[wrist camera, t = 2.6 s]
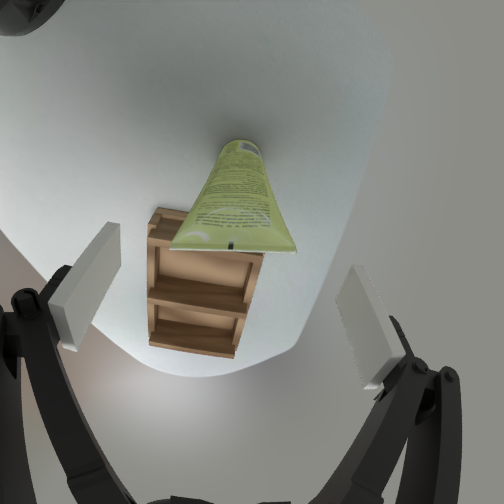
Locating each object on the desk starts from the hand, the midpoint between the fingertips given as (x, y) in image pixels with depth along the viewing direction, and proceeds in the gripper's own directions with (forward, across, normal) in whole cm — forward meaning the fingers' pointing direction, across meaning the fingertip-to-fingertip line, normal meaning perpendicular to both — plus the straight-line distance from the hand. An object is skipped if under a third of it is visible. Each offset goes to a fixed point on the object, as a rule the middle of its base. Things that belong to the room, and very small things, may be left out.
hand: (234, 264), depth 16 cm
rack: (+21, -2, -18) cm, 27 cm away
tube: (+21, 0, 0) cm, 21 cm away
